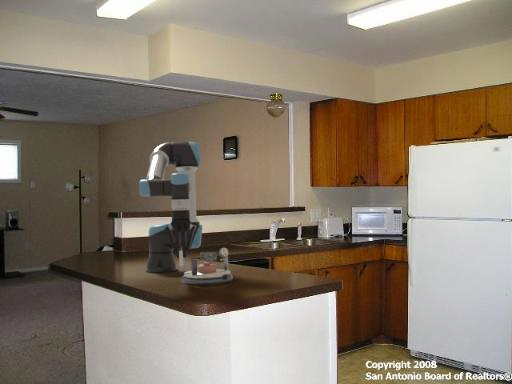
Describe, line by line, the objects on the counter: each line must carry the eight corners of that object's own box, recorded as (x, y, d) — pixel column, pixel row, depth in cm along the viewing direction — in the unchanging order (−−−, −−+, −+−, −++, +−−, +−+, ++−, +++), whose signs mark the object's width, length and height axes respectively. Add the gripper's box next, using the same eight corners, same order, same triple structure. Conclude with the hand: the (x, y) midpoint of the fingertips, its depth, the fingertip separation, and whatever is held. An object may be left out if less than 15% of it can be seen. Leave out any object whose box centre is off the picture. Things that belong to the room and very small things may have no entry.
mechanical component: (203, 272, 248) (203, 251, 248) (218, 273, 241) (218, 252, 241) (199, 272, 245) (198, 252, 245) (214, 274, 239) (213, 253, 239)
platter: (174, 277, 219) (173, 258, 219) (205, 270, 235) (205, 253, 235) (213, 281, 206) (212, 261, 206) (243, 274, 222) (242, 255, 222)
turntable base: (171, 282, 219) (171, 278, 219) (205, 275, 237) (205, 271, 237) (210, 287, 206) (209, 282, 206) (243, 279, 224) (242, 274, 224)
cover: (193, 272, 221) (193, 263, 221) (206, 270, 227) (206, 260, 227) (207, 274, 216) (207, 264, 216) (219, 271, 222) (219, 261, 222)
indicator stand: (216, 277, 230) (216, 248, 230) (225, 275, 235) (224, 246, 235) (225, 278, 227) (224, 248, 227) (234, 276, 232) (233, 247, 232)
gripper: (163, 210, 212) (164, 267, 212) (193, 209, 211) (195, 266, 211) (167, 209, 220) (169, 264, 220) (197, 209, 218) (199, 264, 218)
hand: (181, 265), depth 215 cm, fingers closed
